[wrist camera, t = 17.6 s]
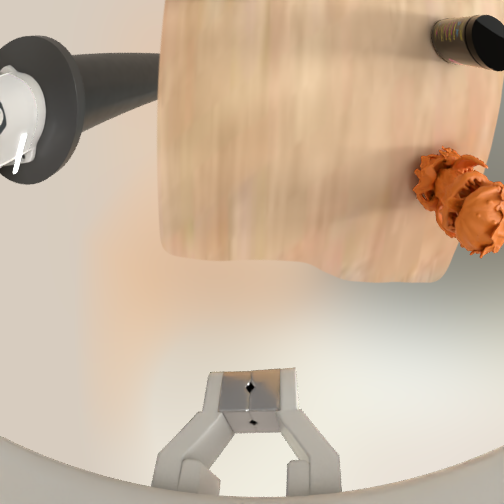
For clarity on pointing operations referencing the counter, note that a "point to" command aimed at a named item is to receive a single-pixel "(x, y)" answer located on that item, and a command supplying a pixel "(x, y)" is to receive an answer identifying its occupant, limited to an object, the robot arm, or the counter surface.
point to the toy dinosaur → (462, 200)
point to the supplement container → (471, 41)
